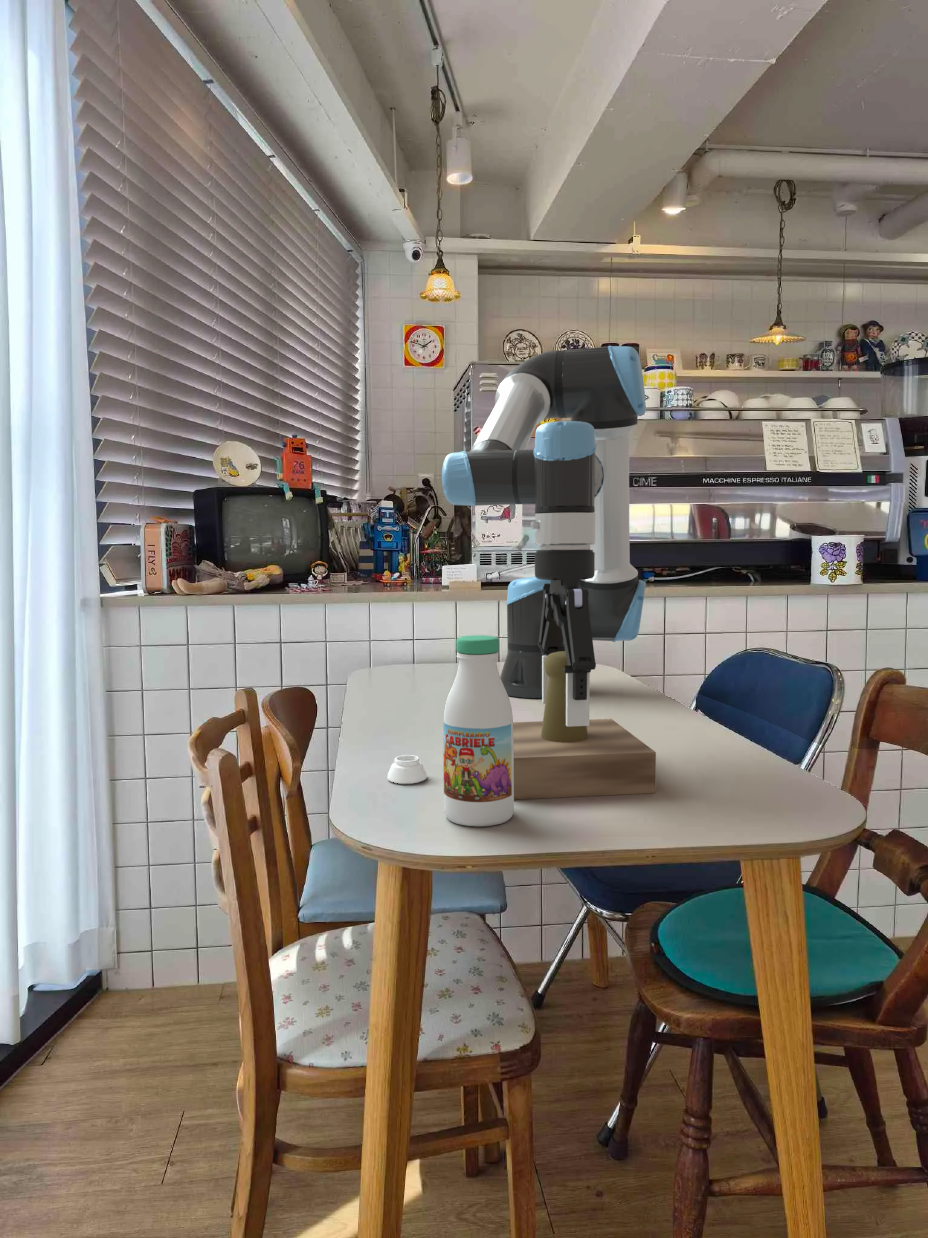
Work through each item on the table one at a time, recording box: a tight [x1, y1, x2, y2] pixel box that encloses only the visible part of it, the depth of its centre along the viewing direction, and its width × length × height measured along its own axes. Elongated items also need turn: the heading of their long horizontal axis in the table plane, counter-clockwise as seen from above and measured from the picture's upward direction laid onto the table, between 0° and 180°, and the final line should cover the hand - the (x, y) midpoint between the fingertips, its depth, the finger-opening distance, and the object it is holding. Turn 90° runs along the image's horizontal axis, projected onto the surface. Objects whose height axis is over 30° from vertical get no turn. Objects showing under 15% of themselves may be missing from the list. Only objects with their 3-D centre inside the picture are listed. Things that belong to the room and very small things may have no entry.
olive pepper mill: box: [541, 651, 588, 742], centre depth 104 cm, size 6×6×11 cm
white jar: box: [386, 754, 428, 785], centre depth 103 cm, size 5×3×5 cm
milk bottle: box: [442, 634, 515, 827], centre depth 88 cm, size 8×8×20 cm
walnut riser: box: [513, 718, 657, 801], centre depth 104 cm, size 18×18×5 cm
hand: (564, 713), depth 104 cm, fingers open, 13 cm apart
